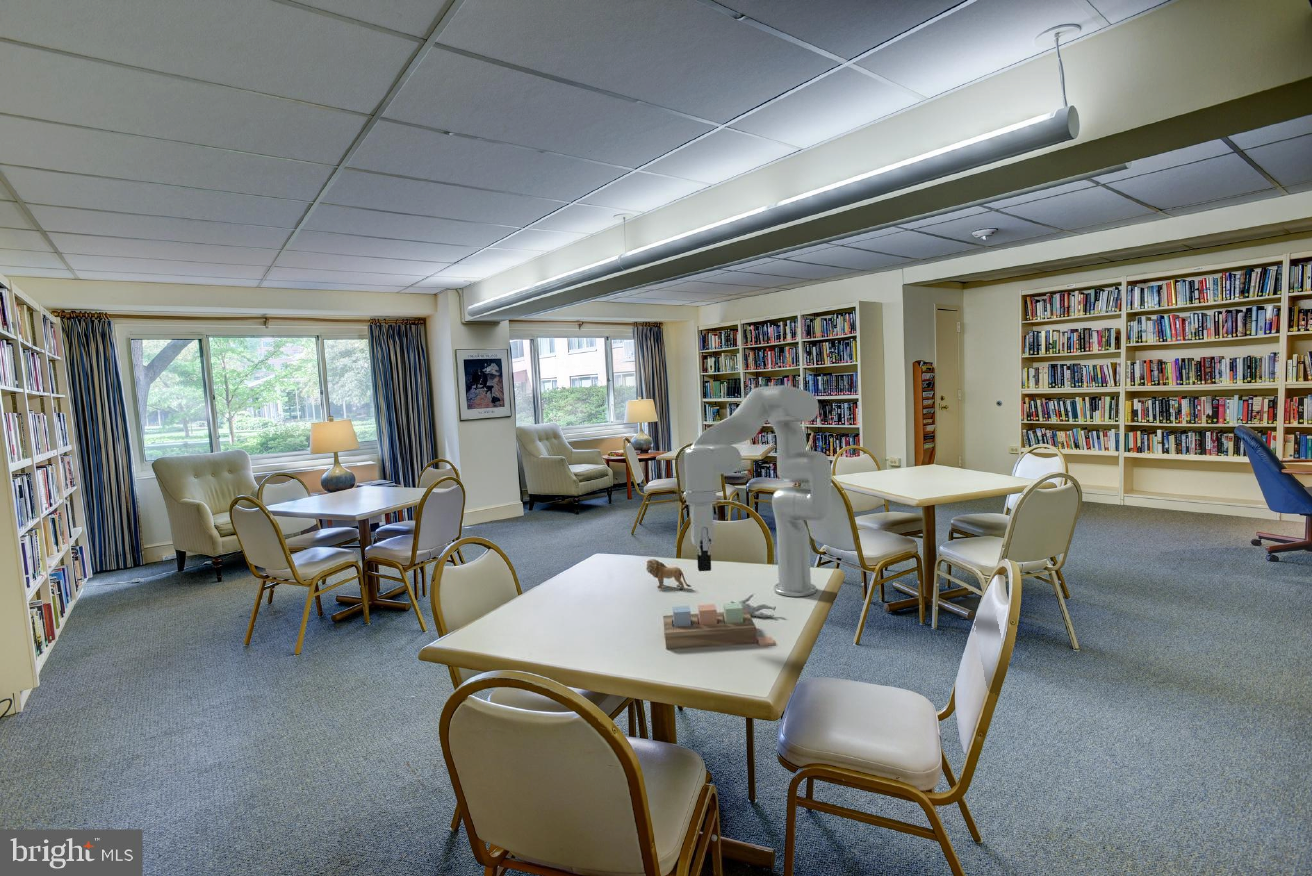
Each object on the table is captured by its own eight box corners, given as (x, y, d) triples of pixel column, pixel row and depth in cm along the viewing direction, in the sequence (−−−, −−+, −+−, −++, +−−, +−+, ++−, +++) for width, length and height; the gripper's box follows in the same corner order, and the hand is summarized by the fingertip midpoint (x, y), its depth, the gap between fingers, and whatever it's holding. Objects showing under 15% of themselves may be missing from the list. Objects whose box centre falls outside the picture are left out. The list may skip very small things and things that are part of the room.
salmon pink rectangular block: (699, 626, 159) (698, 605, 159) (715, 625, 159) (714, 604, 159) (700, 632, 155) (699, 610, 154) (717, 631, 155) (716, 609, 154)
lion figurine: (644, 588, 200) (643, 561, 200) (650, 583, 205) (649, 556, 205) (688, 590, 195) (687, 562, 195) (693, 585, 200) (692, 558, 200)
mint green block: (724, 624, 159) (723, 603, 159) (740, 623, 159) (739, 602, 159) (726, 630, 155) (725, 609, 154) (743, 629, 155) (742, 608, 155)
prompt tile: (756, 640, 153) (756, 637, 153) (771, 639, 153) (771, 636, 153) (759, 645, 149) (759, 643, 149) (774, 644, 150) (774, 642, 150)
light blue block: (673, 628, 159) (672, 606, 158) (690, 627, 159) (689, 605, 158) (674, 634, 154) (673, 612, 154) (691, 633, 155) (690, 611, 154)
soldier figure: (770, 626, 164) (727, 611, 167) (768, 633, 168) (725, 618, 171) (777, 600, 169) (735, 585, 171) (775, 607, 173) (733, 593, 175)
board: (664, 630, 163) (663, 615, 162) (747, 625, 163) (747, 610, 163) (666, 648, 151) (665, 632, 150) (756, 643, 151) (755, 626, 151)
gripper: (684, 493, 162) (687, 563, 163) (688, 502, 147) (692, 579, 148) (712, 492, 162) (715, 562, 163) (720, 501, 148) (723, 577, 148)
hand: (704, 570), depth 156 cm, fingers closed
